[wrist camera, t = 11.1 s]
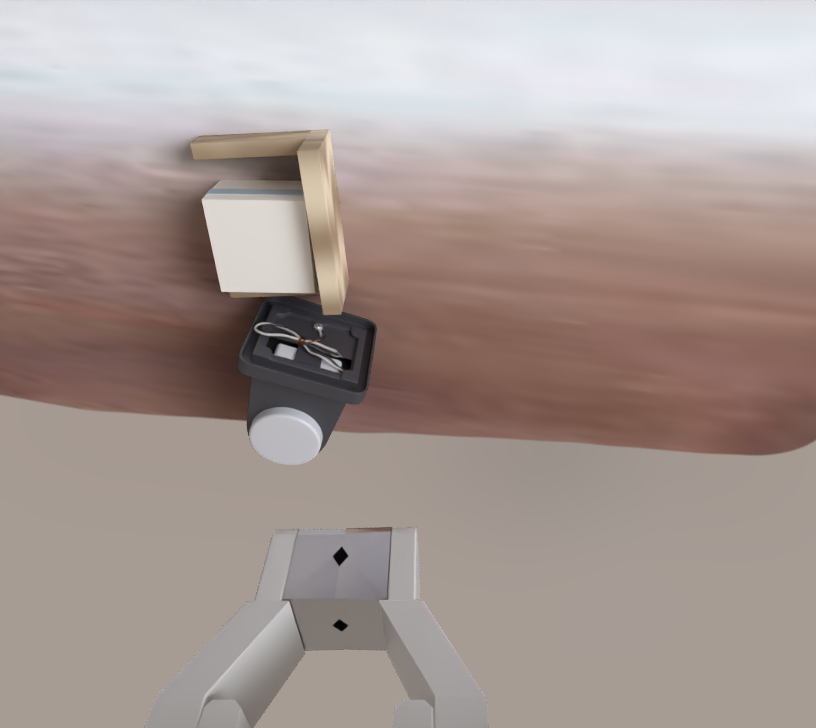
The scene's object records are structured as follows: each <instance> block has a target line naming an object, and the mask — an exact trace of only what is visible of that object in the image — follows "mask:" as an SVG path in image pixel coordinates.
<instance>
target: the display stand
mask: <svg viewBox="0 0 816 728" xmlns="http://www.w3.org/2000/svg"><path fill="white" fill-rule="evenodd" d="M190 147H191V151H192V154H193V158H194V160H203V159H224V158H246V157H267V156H289V155H298V161H299V167H300V173H301V180H302V186H303V192H304V198H305V204H306V210H307V217H308V223H309V229H310V235H311V241H312V248H313V254H314V260H315V266H316V272H317V278H318V287H317V289H316V292H315V293H259V292H230V296H231V298H243V297H272V296H302V295H320V297H321V303H322V309H323V315H341V313H342V308H343V304H344V300H345V296H346V292H347V288H348V283H349V278H348V270H347V262H346V254H345V246H344V239H343V231H342V223H341V215H340V207H339V199H338V191H337V183H336V175H335V167H334V159H333V151H332V143H331V135H330V130H313V131H293V132H272V133H252V134H231V135H211V136H199V137H198V138H197V139H195V140H194V141H193V142H191V143H190Z"/></svg>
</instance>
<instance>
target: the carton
mask: <svg viewBox="0 0 816 728" xmlns="http://www.w3.org/2000/svg"><path fill="white" fill-rule="evenodd" d="M202 204H203V209H204V213H205V218H206V223H207V227H208V232H209V236H210V241H211V246H212V250H213V255H214V260H215V264H216V269H217V274H218V278H219V283H220V288H221V292H259V293H315V292H316V289H317V287H318V278H317V272H316V266H315V260H314V254H313V248H312V241H311V235H310V229H309V223H308V217H307V210H306V204H305V198H304V192H303V186H302V181H273V180H220V181H219V182H218V183H217V184H216V185H215V186H214V187H213V188H212V189H210V190H209V191H208V192H207V193H206V195H205V196H204V197H203V198H202Z"/></svg>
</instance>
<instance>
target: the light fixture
mask: <svg viewBox="0 0 816 728" xmlns="http://www.w3.org/2000/svg"><path fill="white" fill-rule="evenodd" d="M376 332H377V327H376V325H375V324H374V323H373V322H371V321H370V320H367V319H364V318H361V317H358V316H355V315H351V314H348V313H345V312H342V313H341V315H323V309H322V306H321V305H318V304H315V303H311V302H308V301H305V300H301V299H298V298H295V297H291V296H272V297H265V298H264V300H263V302H262V304H261V306H260V308H259V310H258V313H257V315H256V317H255V319H254V321H253V323H252V326H251V328H250V330H249V332H248V334H247V337H246V339H245V341H244V343H243V345H242V348H241V350H240V353H239V357H238V362H237V368H238V370H239V371H240V372H241V373H242V374H244V375H246V376H249V377H251V385H250V395H249V405H248V415H247V430H248V435H249V440H250V443H251V444H252V447H253V448H254V449H255V451H256V452H257V453H259V454H260V455H261V456H262V457H264V458H266V459H267V460H269V461H272V462H275V463H278V464H283V465H298V464H302V463H305V462H308V461H310V460H311V459H313V458H314V457H315V456H316V455H317V454H318V453H319V452H320V451H321V450H322V449H323V447H324V446H325V445H326V443H327V441H328V439H329V437H330V435H331V433H332V431H333V429H334V427H335V425H336V423H337V421H338V419H339V417H340V415H341V412H342V410H343V408H344V406H345V404H346V403H348V404H360V403H361V402H362V401H363V400H364V398H365V395H366V392H367V390H368V386H369V379H370V373H371V366H372V360H373V353H374V346H375V339H376Z"/></svg>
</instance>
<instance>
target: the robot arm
mask: <svg viewBox="0 0 816 728" xmlns="http://www.w3.org/2000/svg"><path fill="white" fill-rule="evenodd" d="M344 649H348V650H349V649H350V650H387V654H388V656H389V658H390V660H391V662H392V664H393V666H394V668H395V670H396V672H397V674H398V676H399V678H400V680H401V682H402V684H403V686H404V688H405V690H406V692H407V694H408V696H409V698H410V700H401V701H400V702H399V703H398V704H397V706H396V707H395V708H394V725H393V728H489V725H488V712H487V701H486V697H485V696H484V694H483V693H482V691H481V689H480V688H479V686H478V685H477V683H476V682H475V680H474V679H473V677H472V676H471V674H470V672H469V671H468V670H467V668H466V666H465V665H464V663H463V662H462V660H461V659H460V657H459V656H458V654H457V652H456V651H455V649H454V648H453V646H452V645H451V643H450V641H449V640H448V638H447V637H446V635H445V634H444V632H443V631H442V629H441V628H440V626H439V624H438V623H437V621H436V620H435V618H434V617H433V615H432V614H431V612H430V611H429V609H428V608H427V606H426V604H425V603H424V601H423V600H420V575H419V553H418V537H417V528H416V527H408V528H392V527H381V528H347V529H276V530H275V532H274V534H273V535H272V538H271V541H270V545H269V549H268V552H267V556H266V560H265V563H264V567H263V571H262V575H261V578H260V582H259V586H258V589H257V593H256V597H255V600H254V601H247V602H246V603H245V604H244V605H243V606H242V607H241V608H240V609H239V610H238V611H237V612H236V613H235V615H234V616H233V617H232V618H231V619H230V620H229V621H228V622H227V623H226V624H225V625H224V626H223V627H222V628H221V629H220V630H219V631H218V632H217V633H216V634H215V635H214V636H213V638H211V640H210V641H209V642H208V643H207V644H206V645H205V646H204V647H203V648H202V649H201V650H200V651H199V652H198V653H197V654H196V655H195V656H194V657H193V658H192V659H191V660H190V661H189V663H188V664H187V665H186V666H185V667H184V668H183V669H182V670H181V671H180V672H179V673H178V674H177V675H176V676H175V677H174V678H173V679H172V680H171V681H170V682H169V683H168V684H167V685H166V686H165V688H164V689H163V690H162V691H161V692H160V693H159V694H158V695H157V696H156V697H155V700H154V703H153V705H152V708H151V711H150V713H149V716H148V718H147V721H146V724H145V727H144V728H253V727H254V726H255V725H256V723H257V722H258V720H259V719H260V718H261V716H262V714H263V713H264V712H265V710H266V709H267V707H268V706H269V705H270V703H271V702H272V700H273V699H274V697H275V696H276V694H277V693H278V692H279V690H280V689H281V687H282V686H283V685H284V683H285V682H286V680H287V679H288V677H289V676H290V674H291V673H292V672H293V670H294V668H295V667H296V666H297V664H298V663H299V661H300V660H301V659H302V657H303V656H304V655H305V651H311V650H344Z"/></svg>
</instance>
